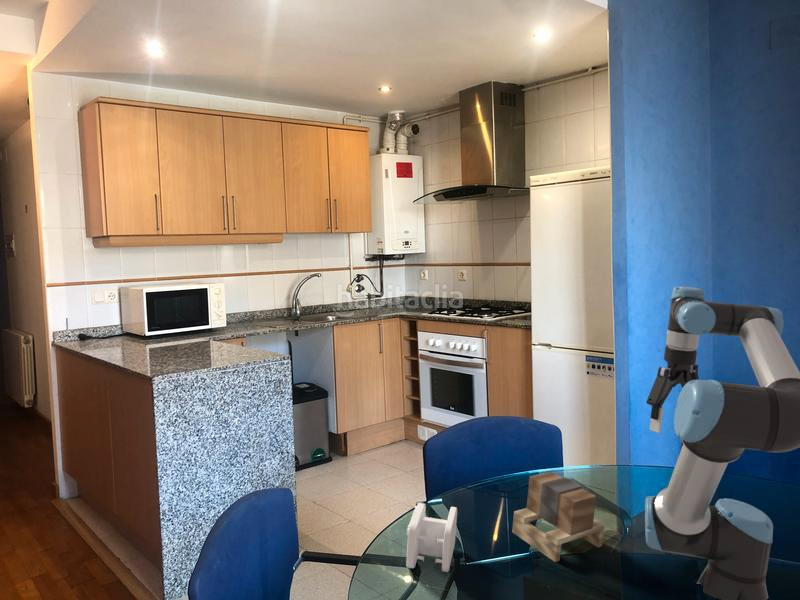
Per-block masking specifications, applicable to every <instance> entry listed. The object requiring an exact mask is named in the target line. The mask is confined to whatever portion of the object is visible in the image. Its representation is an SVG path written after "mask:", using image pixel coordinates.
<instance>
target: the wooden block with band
mask: <svg viewBox="0 0 800 600" xmlns="http://www.w3.org/2000/svg"><path fill="white" fill-rule="evenodd" d="M526 499H527V500H526V508H527V509H529V510H530V511H532V512H534V513H535V514H537V515H538V516H539V517H541V519H542V520H544V521H545V522H547V523H549V524H550V525H552V526H554V527H555V528H556V529H558V528H559V529H561V530H562V531H564V532H565V533H567V534H569V535H570V536H571V535H574V534H577V533H581V532H584V531H587V530H590V529H593V520H594V519H595V518H594V517H595V510H596V501H597V495H595V494H594V493H591V492H590V491H588V490H586V489H584V488H583V486H582V485H580V484H578V483H577V482H574V481H573V480H571V479H569V478H567V477H565V476H564V477H562V476H560V475H558V474H556V473H554V472H553V471H549V472H545V473H539V474H536V475H531V476H529V479H528V491H527V498H526Z"/></svg>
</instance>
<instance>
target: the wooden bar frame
mask: <svg viewBox="0 0 800 600" xmlns="http://www.w3.org/2000/svg"><path fill="white" fill-rule="evenodd" d="M540 519H542V518H541V517H539V516H538V515H537V514H535V513H534V512H532V511H530V510H529V509H527V507H525V508H522V509H517V510H515V511H513V520H512V530H511V531H512V533H513V534H514V535H515V536H517V537H519V539H521V540H522V541H524V542H526V543H527V544H529V545H530V546H531V547H533V548H534V549H536V550H537V551H539V552H540V553H541V554H543V555H544V556H546V557H547V558H548V559H550V560H551V561H553V562H554V563H557V562H560V560H561V550H562V545H563V544H566V543H569V542H571V541H574V540H578V539H581V538H582V539H583V540H585V541H586V542H588V543H590V544H592V545H593V546H595V547H596V548H600V547H603V539H604V532H605V524H603V523H602V522H601V521H598V520H597V519H595V518H594V520H593V529H590V530H587V531H584V532H581V533H577V534H574V535H571V536H570V535H569V534H567V533H565V532H564V531H562V530H561V529H559V528H556V529H552V530H549V531H546V532H544V531H542V530H540V529H539V528H537V526H534V525H533V524H531V523H530V522H534V521H537V520H540Z"/></svg>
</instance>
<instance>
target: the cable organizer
mask: <svg viewBox="0 0 800 600" xmlns="http://www.w3.org/2000/svg"><path fill="white" fill-rule="evenodd" d="M426 507H427V506H426V503H422V502H417V505H415V506H414V510H413V512H412V514H411V518H410V520H409V524H407V528H406V536H407V542H406V544H407V546H406V561H405V562H406V563H405V565H406V568H408V569H414V568H416V564H417V562H418V560H420V561H422V563H424V561H425V556H430V557H435V561H434V562H435V563H436V564H437V563H438V564H441V571H442V572H444V573H448V572H450V567H451V563H452V558H453V553H454V550H455V544H456V534H457V532H456V531H457V518H458V508H457V507H455V506H450V509H449V512H448V516H447V519H443V518H441V519H440V518H434V517H427V516H426V509H427V508H426ZM422 555H423V556H422ZM440 558H442V559H440Z"/></svg>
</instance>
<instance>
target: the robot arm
mask: <svg viewBox="0 0 800 600" xmlns="http://www.w3.org/2000/svg"><path fill="white" fill-rule="evenodd" d="M669 306H670V307H669V316H668V324H667V325H668V326H667V332H666V342H665V344H666V345H667V346H665V347H664V355H663V360H664V361H665V362H666V363H667V365H666V367H662V366H660V367H658V370H657V374H656V377H655V380H654V383H653V385H652V388H651V389H650V392H649V394H648V397H647V399H646V401H645V402H646V404H648V405H649V406H651V410H650V411H651V412H650V422H649V431H652V432H655V433H656V434H660V433H661V432H662V424H663V417H664V407H663V405H664V404H665V401H666V400H667V398H668V397H669V395H670V393H671V392H672V389H673V388H674V387H676V386H677V385H679V384H680V386H681V388H682V389H681V390H680V393H679V394H678V398H677V400H676V406H675V409H674V416H673V427H674V432H675V434H676V435H675V436H677V438H679V439H680V440H681V442H682V447H681V450H680V452H679V455H678V457H677V461H676V463H675V466H674V469H673V472H672V474H671V478H670V481H669V482H668V485H667V487H665V488H663V489H661V490H660V491H659V492H658V493H657V495H656V496H655V495H652V496H651V495H648V496H646V498H645V500H644V501H645V503H644V525H645V526H644V527H645V528H644V529H645V530H644V531H645V533H644V534H645V542H646V545H647V546H648V547H649V548H650V549H653V550H657V551H660V552H662V553H671V554H676V555H683V556H689V557H695V558H701V559H705V560H706V559H707V560H708V561H707V565H706V566H705V567H704V570H702V571H703V572H702V573H701V574H700V577H699V578H698V580H697V581H696V584H701V585H703V592H704V593H706V594H708V595H710V596H712V597H714V598H718V599H721V600H767V599H768V598H769V595H768V590H767V584H766V577H767V573H768V572H767V571H768V565H769V561H770V560H769V559H770V554H771V549H772V548H771V547H772V543H773V541H774V540H773V539H774V538H773V534H774V531H773V530H774V525H773V522H772V520H771V518H770V517H769V516H768V515H767V514H766V513H765V512H763V511H762V510H760V509H759V508H757V507H755V506H753V505H751V504H749V503H746V502H744V501H740V500H737V499H734V498H725V497H724V498H719V499H718V500H717V501H716V502H715V505H710V503H711V502H712V500H713V497H714V495H715V493H716V491H717V489H718V486H719V484H720V481H721V480H722V477H723V475H724V473H725V471H726V469H727V466H728V464H729V463H732V462H735V461H737V460H738V459H739V458H740V457H741V456H742V455H743V453H744V452H745V450H749V451H751V450H752V451H758V452H759V451H760V452H766V453H786V452H792V451H795V450H797V449H798V448H800V370H799V368H798V367H797V365H796V363H795V361H794V359H793V358H792V356H791V354H790V352H789V349H788V348H787V346H786V345H785V343H784V341H783V339H782V337H781V335H782V333H783V330H784V315H783V312H782V310H780V309H778V308H776V307H770V306H765V305H750V304H749V305H748V304H738V303H737V304H736V303H726V302H718V301H717V302H716V301H705V290H704V289H702V288H699V287H692V286H682V285H681V286H674V287H673V289H672V293H671V298H670V305H669ZM705 334H710V335H719V336H720V335H721V336H730V337H738V338H739V339H740V341H741V343H742V346H743V348H744V350H745V353H746V355H747V358H748V361H749V363H750V365H751V368H752V371H753V373H754V375H755V378H756V380H757V382H758V384H759V386H758V385H749V384H741V383H740V384H739V383H733V382H723V381H717V380H715V379H705V380H704V379H700V377H699V365H698V364H697V354H698V351H697V350H696V349H698V347H699V340H700V336H701V335H705Z"/></svg>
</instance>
